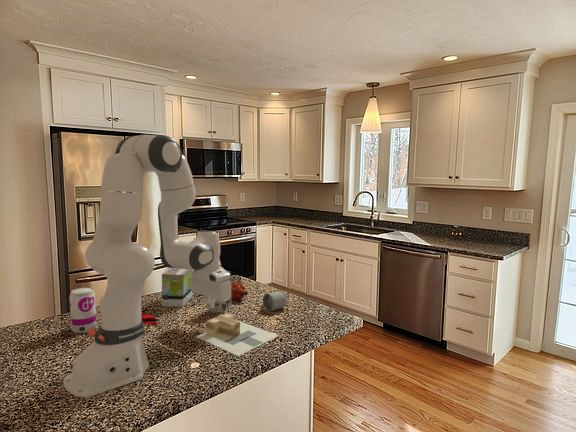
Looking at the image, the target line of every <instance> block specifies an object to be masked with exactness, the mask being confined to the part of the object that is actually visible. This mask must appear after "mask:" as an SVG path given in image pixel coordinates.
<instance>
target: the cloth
mask: <svg viewBox="0 0 576 432" xmlns="http://www.w3.org/2000/svg"><path fill="white" fill-rule="evenodd" d="M141 318H142V320H143V325H150V326H153V325H155V326H159V324H158V323H157V321H158V319H157V318H156V317H154V316H153V315H151V314H146V313H144V312H141Z"/></svg>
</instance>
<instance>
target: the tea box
mask: <svg viewBox="0 0 576 432" xmlns="http://www.w3.org/2000/svg"><path fill="white" fill-rule="evenodd" d="M192 271H193V270H189V269H181V268H169V269H167V270H166V271H164V272H162V274H161V306H162V307H166V308H167V307H169V308H170V307H173V308H174V307H175V308H177V307H178V308H183V307H184V306H186V304H187V303H188V301H190V299H192V297H193V293H194V292H192V291H191V288H190V283H191V276H192Z"/></svg>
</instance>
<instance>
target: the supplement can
mask: <svg viewBox="0 0 576 432" xmlns="http://www.w3.org/2000/svg"><path fill="white" fill-rule="evenodd" d="M68 298H69V310H70V311H69V312H70V328H71V329H70V330H71V331H72V332H73V333H74V334H84V333H87V331H89V329H90V328H93V329H94V330H95V328H96V327H97V312H96V309H97V308H96V307H97V306H96V292H95V291H94V289H93V288H92V287H79V288H75V289H72V290H71V291H70V294H69V297H68Z"/></svg>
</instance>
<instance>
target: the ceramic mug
mask: <svg viewBox="0 0 576 432" xmlns="http://www.w3.org/2000/svg"><path fill="white" fill-rule="evenodd" d="M286 305H287V297H286V295H285V293H284V292H282V291H275V292H266V293H265V294H264V295H263V297H262V306H263V307H264V310H266V311H267V312H273V311H276V310H280V309H283V308H285V306H286Z"/></svg>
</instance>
